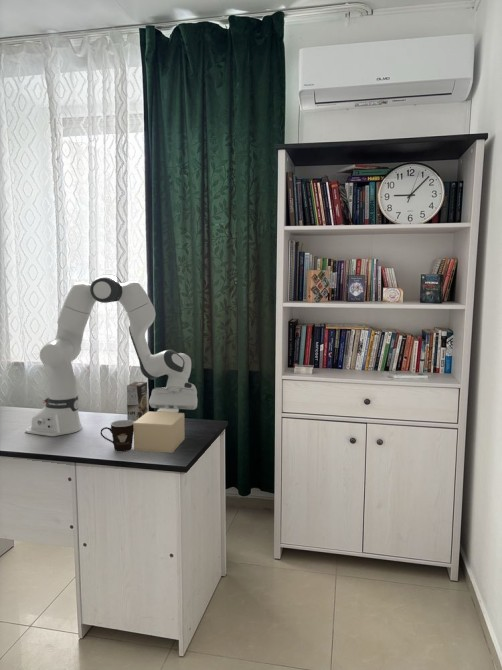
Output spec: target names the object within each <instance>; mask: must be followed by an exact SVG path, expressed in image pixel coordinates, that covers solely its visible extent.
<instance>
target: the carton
mask: <svg viewBox="0 0 502 670" xmlns="http://www.w3.org/2000/svg"><path fill="white" fill-rule="evenodd" d="M133 430H134V431H133V451H137V452H138V451H141V452H155V453H174V452H175V450H176V449H177V448H178V447H179V446H180V445H181V444H182V442H184V441H185V438H186V437H185V434H186V433H185V432H186V431H185V430H186V429H185V414H184V415H183V416H182V417H181V418H180V419H179V420H178V421H177V422H176V423H175V424H174V425H173V426H155V425H136V424H133Z"/></svg>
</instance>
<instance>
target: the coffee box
mask: <svg viewBox="0 0 502 670" xmlns="http://www.w3.org/2000/svg"><path fill="white" fill-rule="evenodd" d="M147 412H148V382H146V381H133V382H131V383H130V384H128V385H126V415H127V416H126V418H127V419H126V420H131V421H133V422H135V421H136V420H138V419H139V418H140V417H142V416H143V415H144V414H146V413H147Z"/></svg>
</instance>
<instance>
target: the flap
mask: <svg viewBox="0 0 502 670" xmlns="http://www.w3.org/2000/svg"><path fill="white" fill-rule="evenodd" d="M179 411H180V409H165V408H157V410H156V411H148V412H147V413H146V414H144V415H143V416H142V417H140V418H139V419H138V420H136V421H133V422H134V423H133V424H136V425H155V426H173V425H174V424H175V423H176V422H177V421H178V420H179V419H180V418H181V417H182V416H183V415H184V416H185V413H184V412H179Z"/></svg>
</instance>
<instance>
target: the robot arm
mask: <svg viewBox="0 0 502 670" xmlns="http://www.w3.org/2000/svg"><path fill="white" fill-rule="evenodd" d="M66 295H67V296H66V298H65V300H64V303H63V305H62V308H61V311H60V313H59V316H58V319H57V332H56V336H55V338H54V339H53V340H50V341H48V342H46V343H45V344H44V346H42V347H41V349H40V351H39V359H40V361H41V363H42V364H43V366H44V369H45V373H46V377H47V382H48V383H47V384H48V397H47V398H45V399H44V400H43V401H42V403H43V404H45V406H43V408H41V409H40V410H38V412H36V413H35V414H34V415H33V416H32V419H31V423H30V424H31V425H29V426H27V427H26V429H25V433H28V434H32V435H33V434H34V435H41V436H49V437H56V436H57V437H58V436H61V435H68V434H69V435H70V434H72V433H76V432H79V431H80V430H82V429H83V426H82V422H81V419H80V414H79V395H78V389H77V388H78V383H77V376H76V375H75V373H74V369H73V365H72V364H73V363H72V362H73V361H74V360H76V359H77V358H78V357H79V355H80V353H81V351H82V350H81V349H82V342H83V337H84V332H85V329H86V326H87V323H88V321H89V318H90V315H91V312H92V310H93V307H94V304H95V303H96V302H100V303H101V304H102V303H104V304H107V303H113V302H119V303H120V304H121V305H122V306H123V309H124V311H125V313H126V315H127V317H128V321H129V325H128V331H129V332H128V333H129V336H130V339H131V342H132V345H133V348H134V350H135V354H136V355H137V359H138V363H139V368H140V371H141V374H142V375H143V376H144V377H145V378H146V379H148V380H151V381H152V380H153V381H154V380H155V379H158V378H160V377H162V376H164V375H167V376H168V377H167V381H166V386H165V387H159V386H158V387H155V388H152V390H151V395H150V397H149V400H148V404H149V406H150V408H151V409H160V408H165V409H179V410H192V411H193V410H194V411H195V410H196V409H197V408H198V402H199V401H198V396H197V394H198V390H197V388H196V385H195V384H193V383H191V382H189V378H190V375H191V372H192V359H191V357H190V356H189V355H187V354H186V353H182V352H179V353H178V352H176V351H175V350H173V349H167V350H163V351H160V352H158V353H155V354H152V353H151V350H150V347H149V344H148V342H147V340H146V333H147V330H148V329H149V328H150V327H151V326H152V324H153V323H154V321H155V319H156V309H155V307H154V305H153V303H152V301H151V299H150V298H149V295H148V294H147V292H146V290H145V289H144V287H142V285H141V284H140V283H139V282H138V281H133V280H132V281H131V280H130V281H127V282H125V283H123V282H122V280H121V279H120V278H119V277H117V276H116V275H114V274H102V275H100V276H98V277H96V278H94V279H93V281H92V282H91V284H90V283H86V282H84V281H78V282H75V283H73V285H72V286H71V288H70V290H69V291H68V293H67V294H66Z"/></svg>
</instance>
